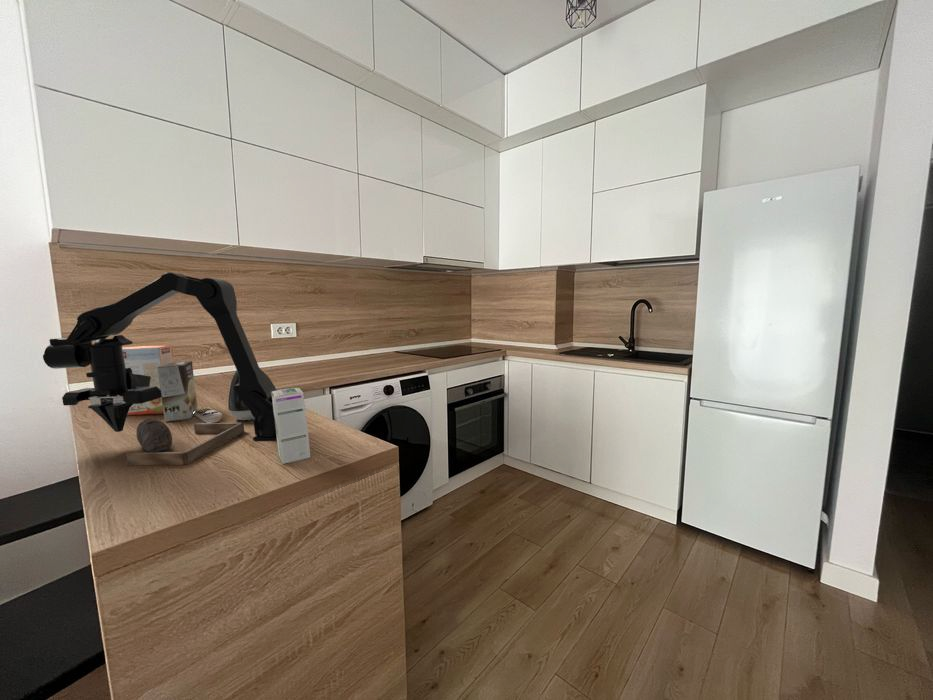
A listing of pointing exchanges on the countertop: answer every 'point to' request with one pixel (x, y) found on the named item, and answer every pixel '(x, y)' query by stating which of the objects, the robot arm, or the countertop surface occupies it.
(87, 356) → the robot arm
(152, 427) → the perforated stone tool
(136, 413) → the cracker box
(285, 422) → the syrup box
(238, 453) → the countertop surface
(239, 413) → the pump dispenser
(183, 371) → the coffee box
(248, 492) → the countertop surface
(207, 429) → the walnut frame
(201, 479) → the countertop surface
